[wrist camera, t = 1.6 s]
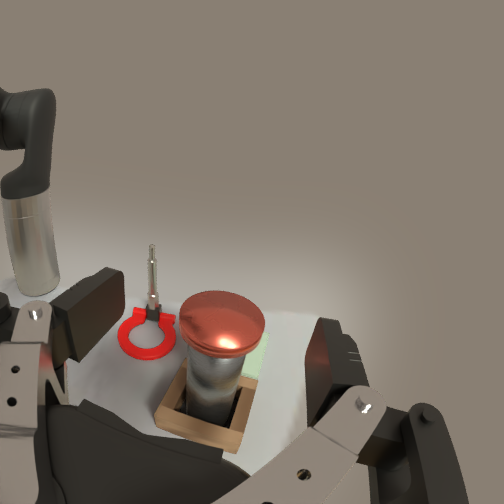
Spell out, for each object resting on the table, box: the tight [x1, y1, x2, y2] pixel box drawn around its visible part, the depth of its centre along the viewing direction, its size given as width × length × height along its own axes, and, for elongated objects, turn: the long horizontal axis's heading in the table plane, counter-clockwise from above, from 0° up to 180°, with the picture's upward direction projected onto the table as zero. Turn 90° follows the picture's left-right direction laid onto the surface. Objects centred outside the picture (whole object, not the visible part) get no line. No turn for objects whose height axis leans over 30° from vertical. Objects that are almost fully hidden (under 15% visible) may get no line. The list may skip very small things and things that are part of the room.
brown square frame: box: [154, 358, 258, 454], centre depth 27 cm, size 9×9×3 cm
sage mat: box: [241, 332, 269, 379], centre depth 37 cm, size 9×9×1 cm
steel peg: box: [179, 291, 265, 426], centre depth 24 cm, size 7×7×15 cm
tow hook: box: [118, 244, 176, 360], centre depth 33 cm, size 8×13×9 cm
